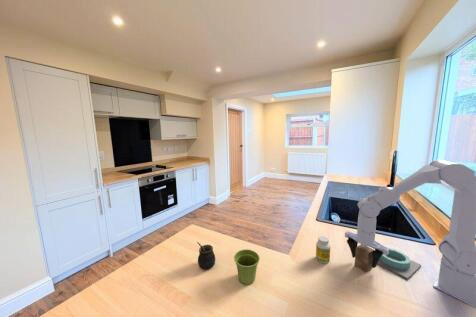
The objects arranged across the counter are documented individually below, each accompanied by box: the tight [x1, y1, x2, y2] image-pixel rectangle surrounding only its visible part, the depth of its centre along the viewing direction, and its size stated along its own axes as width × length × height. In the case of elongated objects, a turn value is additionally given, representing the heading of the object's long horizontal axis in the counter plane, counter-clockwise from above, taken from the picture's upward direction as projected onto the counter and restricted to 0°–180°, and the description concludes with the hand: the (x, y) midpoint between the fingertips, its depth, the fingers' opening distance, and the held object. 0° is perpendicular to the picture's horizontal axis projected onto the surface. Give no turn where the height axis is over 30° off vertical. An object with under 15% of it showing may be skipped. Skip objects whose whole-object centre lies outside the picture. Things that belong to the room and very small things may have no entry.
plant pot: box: [233, 249, 261, 286], centre depth 67 cm, size 9×9×9 cm
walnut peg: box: [354, 244, 375, 273], centre depth 71 cm, size 4×4×8 cm
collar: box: [377, 247, 422, 281], centre depth 74 cm, size 13×13×3 cm
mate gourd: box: [197, 241, 216, 271], centre depth 74 cm, size 7×8×10 cm
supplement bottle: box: [315, 235, 331, 264], centre depth 76 cm, size 5×5×10 cm
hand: (363, 261), depth 72 cm, fingers open, 6 cm apart
